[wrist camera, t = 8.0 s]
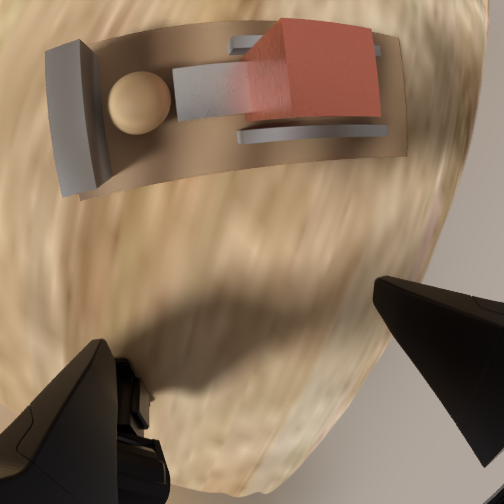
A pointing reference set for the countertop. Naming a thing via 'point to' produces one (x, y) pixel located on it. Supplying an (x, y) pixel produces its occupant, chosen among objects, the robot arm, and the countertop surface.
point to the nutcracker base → (196, 131)
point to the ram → (287, 76)
